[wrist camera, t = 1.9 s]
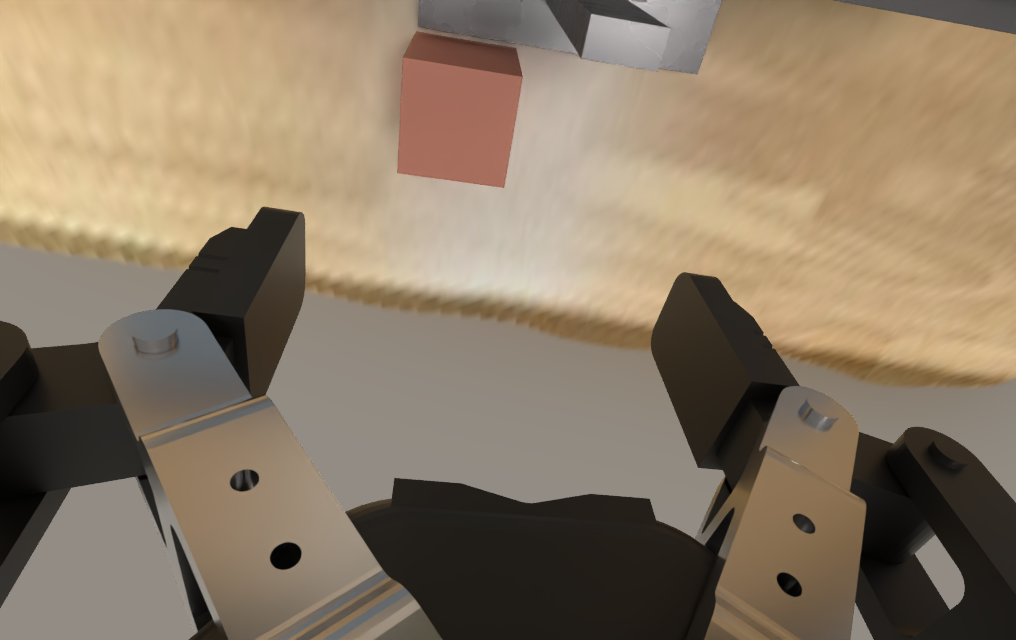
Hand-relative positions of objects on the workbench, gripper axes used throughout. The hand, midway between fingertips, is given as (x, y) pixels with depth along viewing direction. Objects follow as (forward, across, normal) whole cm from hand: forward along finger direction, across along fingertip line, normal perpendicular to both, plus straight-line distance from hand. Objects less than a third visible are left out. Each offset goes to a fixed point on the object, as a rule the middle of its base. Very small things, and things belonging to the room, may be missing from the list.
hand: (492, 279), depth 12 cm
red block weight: (+21, +1, +2) cm, 21 cm away
